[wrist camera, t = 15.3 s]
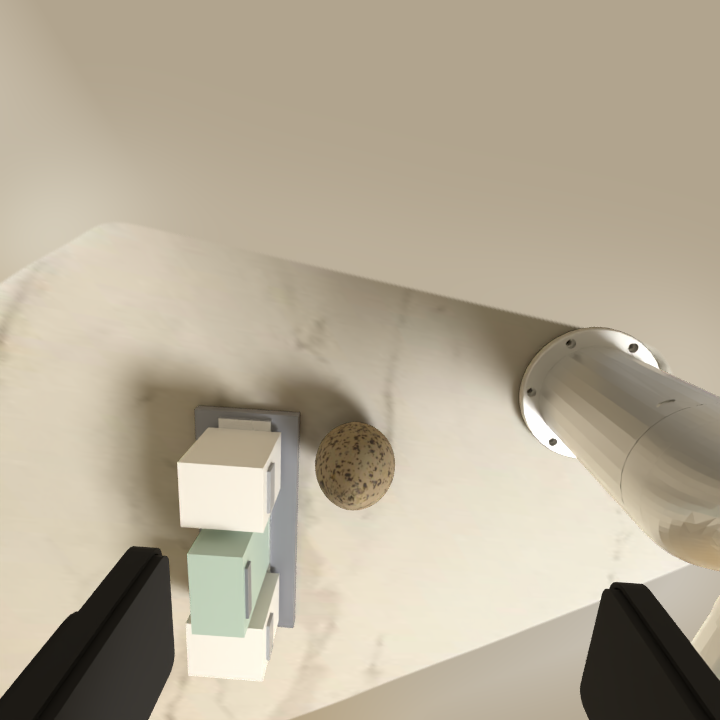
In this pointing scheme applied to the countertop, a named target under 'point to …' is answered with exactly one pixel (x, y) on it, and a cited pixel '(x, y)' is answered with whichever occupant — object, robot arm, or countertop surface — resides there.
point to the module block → (226, 580)
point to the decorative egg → (354, 465)
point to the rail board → (244, 522)
